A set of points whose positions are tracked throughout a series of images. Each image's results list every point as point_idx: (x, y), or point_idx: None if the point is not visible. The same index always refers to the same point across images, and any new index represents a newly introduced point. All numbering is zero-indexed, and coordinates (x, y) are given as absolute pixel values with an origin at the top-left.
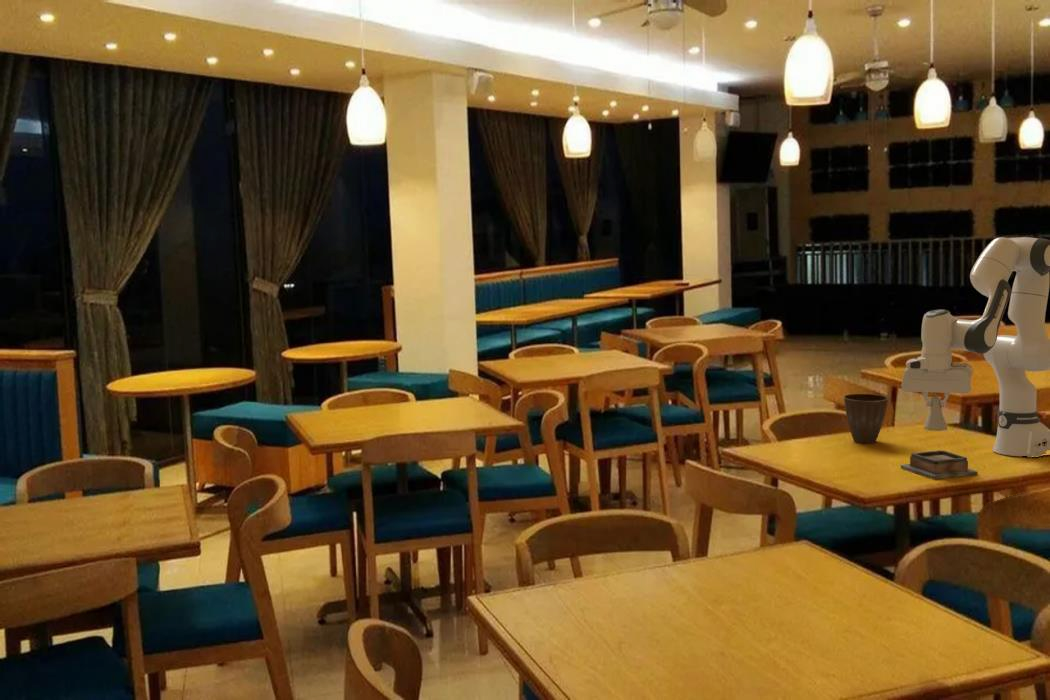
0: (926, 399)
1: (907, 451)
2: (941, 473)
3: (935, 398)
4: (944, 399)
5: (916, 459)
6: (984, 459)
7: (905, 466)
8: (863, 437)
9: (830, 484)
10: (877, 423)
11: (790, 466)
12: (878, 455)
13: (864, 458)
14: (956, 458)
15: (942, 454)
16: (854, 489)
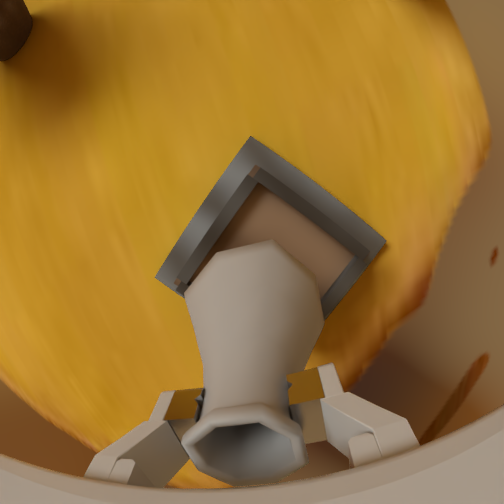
0: (170, 468)
1: (110, 48)
2: None
3: (228, 418)
4: (345, 454)
5: None
6: (342, 28)
7: (174, 289)
8: (2, 56)
9: None
10: (2, 22)
11: (4, 362)
12: (57, 148)
13: (43, 209)
14: (341, 284)
15: (262, 186)
16: None
